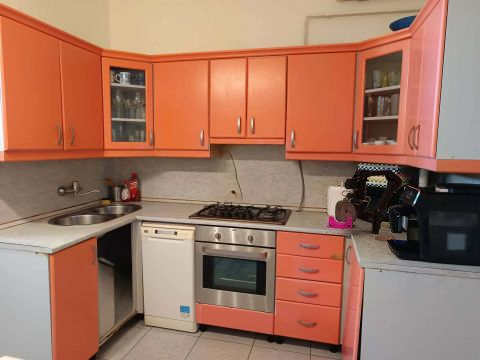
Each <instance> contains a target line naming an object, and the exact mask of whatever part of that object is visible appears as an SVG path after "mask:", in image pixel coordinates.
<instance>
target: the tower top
mask: <svg viewBox="0 0 480 360" xmlns="http://www.w3.org/2000/svg"><path fill="white" fill-rule="evenodd" d="M393 235H394V232H393V233H392V232H391V231H389V232H387V231H381V229H380V230H379V236H382V237H390V238H392V236H393Z"/></svg>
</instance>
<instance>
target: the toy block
mask: <svg viewBox="0 0 480 360" xmlns="http://www.w3.org/2000/svg"><path fill="white" fill-rule="evenodd" d="M338 222H339V221H337V220H336V218H335V215H329V216H328V221H327V229H335V230H344V229H345V230H346V229H347V230H352V228H353V224H352V217H349V219H348V221H347V222H340V223H338Z"/></svg>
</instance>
